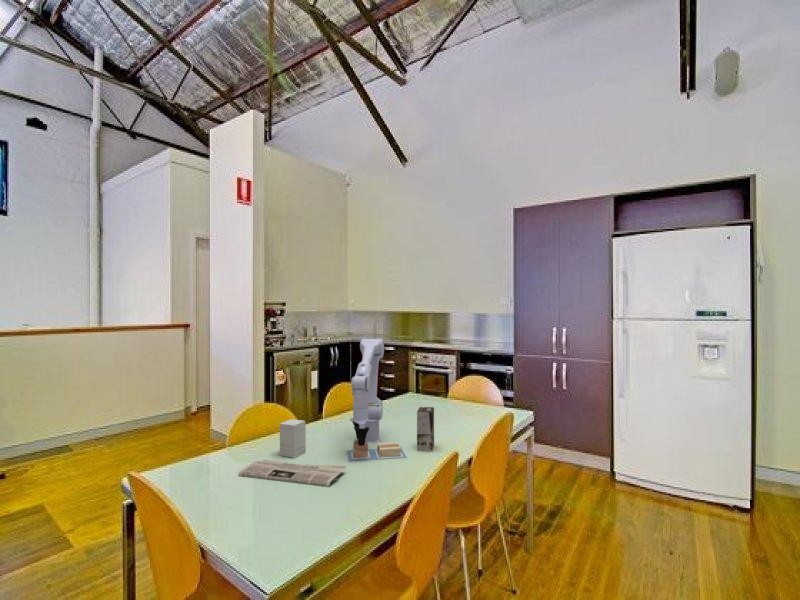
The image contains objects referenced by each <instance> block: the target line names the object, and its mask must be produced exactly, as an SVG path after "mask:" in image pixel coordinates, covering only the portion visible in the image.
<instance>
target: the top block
mask: <svg viewBox="0 0 800 600" xmlns="http://www.w3.org/2000/svg"><path fill="white" fill-rule="evenodd" d="M368 449H369V443H367V440H365V444H364V446H359V445H358V440H357V439H355V440H353V450H354V458H361V457H368Z"/></svg>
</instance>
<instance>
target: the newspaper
mask: <svg viewBox="0 0 800 600" xmlns="http://www.w3.org/2000/svg"><path fill="white" fill-rule="evenodd" d="M346 468H347V465H333V464H331V465H329V464H300V463H294V462H293V463H292V462H286V461H285V462H284V461H277V460H270V459H263V460H260V461H259V460H256V461H253V462H252V463H250V464H248V465H246V466H245V467H244V468H242V469H241V470H239V472H238V477H245V478H251V479H260V480H261V479H262V480H270V481H277V482H278V481H279V482H284V483H285V482H286V483H293V484H294V483H295V484H303V485H311V486H317V487H319V486H320V487H326V488H330V487H331V486H330V485H331V482H332V481H333V480H334V479H335V478H336V477H338V476H339V475H340V474H343V472H344V471H345V470H346Z"/></svg>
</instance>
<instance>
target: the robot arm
mask: <svg viewBox="0 0 800 600" xmlns="http://www.w3.org/2000/svg"><path fill="white" fill-rule="evenodd" d="M359 350H360V352H361V355H362V359H361V361H360V362H359V363H358V365H357V368H356V371H355V375H354V376H352V378H351V380H350V381H351V382H350V386H351V395H352V396H353V398H352V399H353V401H352V403H353V404H352V408H353V409H352V417H351V418H349V421H350V422H352V424H353V429H354V431H355V436H356V440H358V445H359V446H364V444H365V440H367V443H368V444H372V443H376V444H377V443H382V441H381V438H380V421H381V420H382V419H383V415H384V409H383V408H384V407H383V401H382V400H381V399H380V398H379V397H377V396H378V395H377V394H378V380H379V379H378V376H379V364H380V363H379V362H380V360H381V359H384V356H385V355H384V354H385V353H384V352H385V341H384V339H383V338H362V339H361V340H360V343H359Z"/></svg>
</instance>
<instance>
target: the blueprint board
mask: <svg viewBox="0 0 800 600" xmlns="http://www.w3.org/2000/svg"><path fill="white" fill-rule="evenodd" d="M400 448H401V456H397V457H382V458H380V456H379V454H378V451H377V448H371V449H369V448H368V457H361V458H354V449H352V450H346V456H347V462H349V463H351V462H367V461H380V460H382V461H383V460H396V459H397V460H398V459H407V458H408V457H407V456H406V453H405V452H404V450H403V448H402V447H401V446H400Z"/></svg>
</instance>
